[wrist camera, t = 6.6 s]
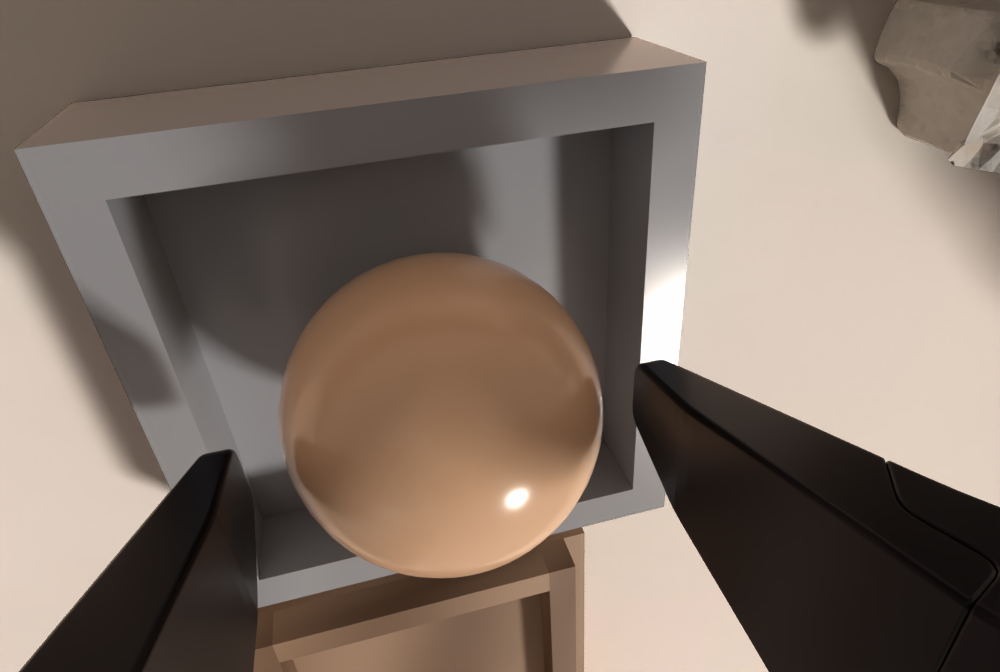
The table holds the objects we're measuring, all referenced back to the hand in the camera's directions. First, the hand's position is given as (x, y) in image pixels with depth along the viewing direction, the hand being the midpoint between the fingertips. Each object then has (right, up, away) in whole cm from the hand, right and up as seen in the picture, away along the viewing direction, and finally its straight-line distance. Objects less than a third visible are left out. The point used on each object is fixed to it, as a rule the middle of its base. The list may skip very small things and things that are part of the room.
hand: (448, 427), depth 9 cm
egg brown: (-1, +1, +2) cm, 3 cm away
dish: (-1, +2, +3) cm, 4 cm away
